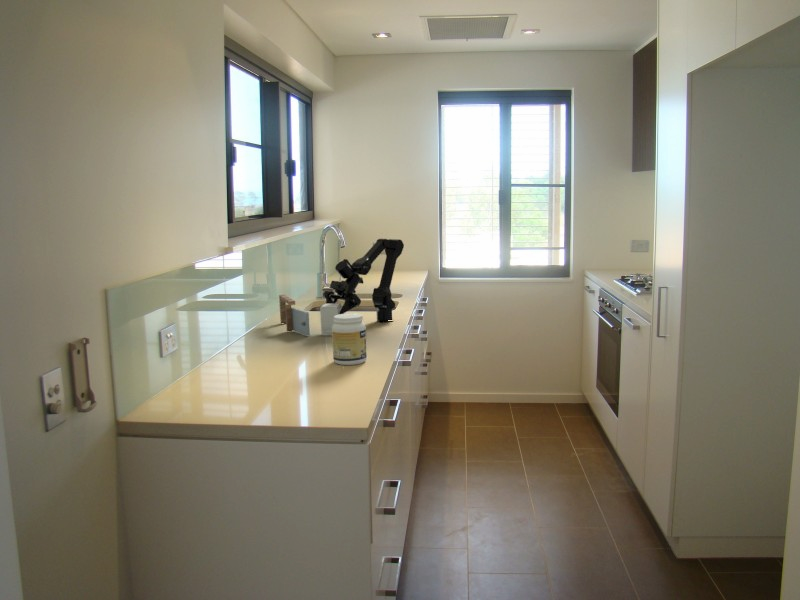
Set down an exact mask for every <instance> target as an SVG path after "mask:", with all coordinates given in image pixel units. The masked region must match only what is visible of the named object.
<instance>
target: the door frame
mask: <svg viewBox="0 0 800 600" xmlns="http://www.w3.org/2000/svg"><path fill="white" fill-rule="evenodd" d="M278 299H279V301H278V302H279V314H280V315H279V316H280V324H281V323H286V324H285V325H286V332H287V331H293V330H292V313H291V308H292V306H294V305H296V300H294V299H292V298H291V297H289V296H287V295H285V294H279V295H278Z"/></svg>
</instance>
